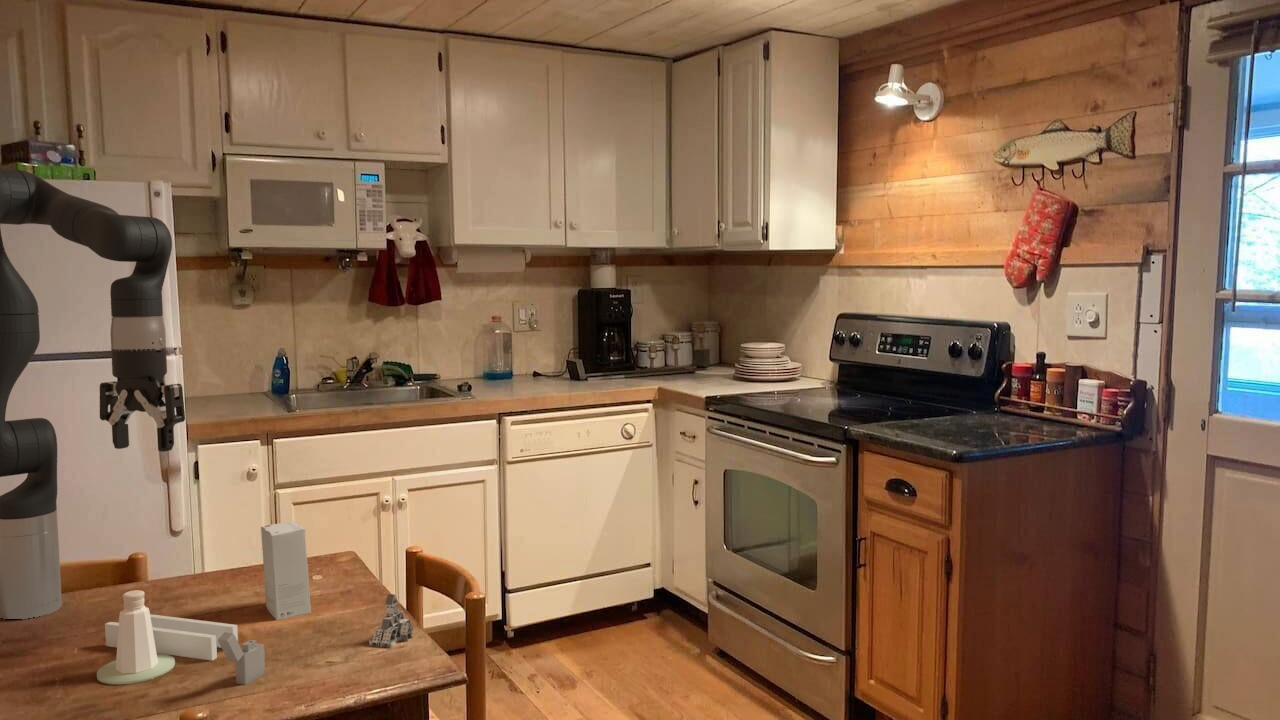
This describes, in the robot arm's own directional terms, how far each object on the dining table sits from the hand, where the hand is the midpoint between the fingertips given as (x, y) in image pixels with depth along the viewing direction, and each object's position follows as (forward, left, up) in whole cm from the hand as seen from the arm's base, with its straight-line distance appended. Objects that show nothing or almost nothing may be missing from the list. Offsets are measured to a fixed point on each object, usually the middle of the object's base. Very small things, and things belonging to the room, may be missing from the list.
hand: (143, 449), depth 147 cm
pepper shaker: (+8, -11, -30) cm, 33 cm away
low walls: (+6, -2, -30) cm, 31 cm away
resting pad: (+8, -11, -30) cm, 33 cm away
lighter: (+26, -10, -30) cm, 41 cm away
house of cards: (+40, +9, -31) cm, 51 cm away
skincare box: (+13, +16, -30) cm, 37 cm away
